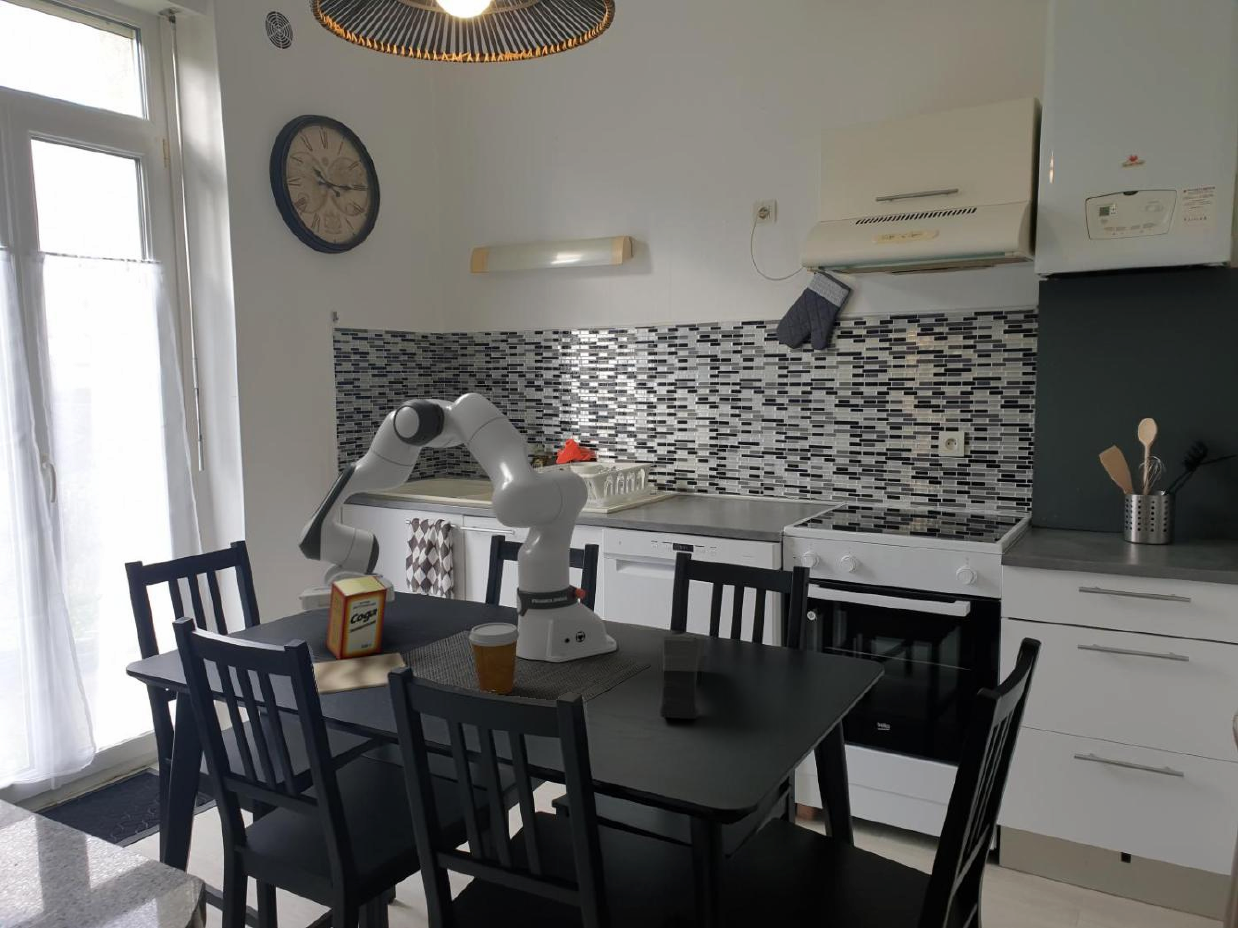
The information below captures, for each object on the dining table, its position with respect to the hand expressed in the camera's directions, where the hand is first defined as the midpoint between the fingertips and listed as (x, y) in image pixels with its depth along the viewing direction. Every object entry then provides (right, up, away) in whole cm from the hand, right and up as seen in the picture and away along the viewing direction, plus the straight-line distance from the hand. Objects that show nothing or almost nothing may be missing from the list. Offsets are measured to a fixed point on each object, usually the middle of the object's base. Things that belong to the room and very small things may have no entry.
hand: (351, 602), depth 204 cm
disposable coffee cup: (+35, -13, -26) cm, 46 cm away
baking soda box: (+1, -10, 0) cm, 10 cm away
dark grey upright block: (+71, -13, -31) cm, 79 cm away
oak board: (+6, -12, -14) cm, 20 cm away
